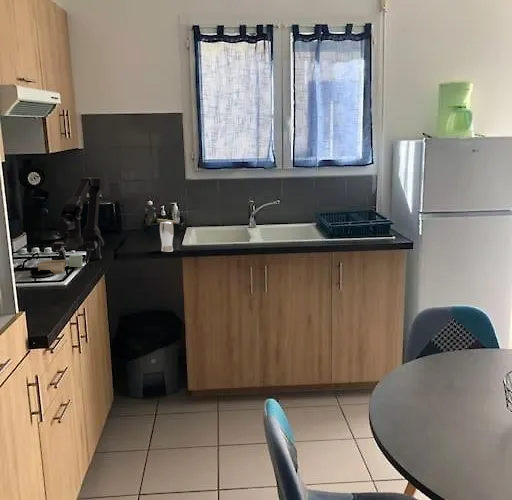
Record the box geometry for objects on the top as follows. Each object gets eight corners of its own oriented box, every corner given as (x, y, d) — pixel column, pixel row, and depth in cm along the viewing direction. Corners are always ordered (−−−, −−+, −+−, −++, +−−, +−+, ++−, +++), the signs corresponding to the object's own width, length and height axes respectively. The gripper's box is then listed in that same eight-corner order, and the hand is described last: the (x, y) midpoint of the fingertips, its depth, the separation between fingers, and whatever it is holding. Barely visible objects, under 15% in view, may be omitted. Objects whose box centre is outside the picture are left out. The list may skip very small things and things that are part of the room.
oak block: (42, 269, 258) (42, 260, 258) (66, 268, 260) (65, 259, 259) (38, 274, 249) (37, 265, 248) (62, 273, 250) (62, 264, 250)
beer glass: (164, 249, 304) (163, 221, 301) (176, 250, 302) (175, 221, 299) (158, 251, 298) (157, 222, 295) (169, 252, 295) (168, 223, 292)
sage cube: (71, 265, 265) (70, 255, 264) (82, 265, 265) (82, 254, 264) (69, 268, 260) (68, 257, 259) (81, 267, 260) (80, 256, 260)
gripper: (48, 233, 250) (51, 268, 253) (93, 232, 253) (95, 267, 256) (53, 229, 261) (56, 263, 264) (96, 228, 264) (97, 262, 267)
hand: (76, 264), depth 262 cm, fingers open, 9 cm apart
